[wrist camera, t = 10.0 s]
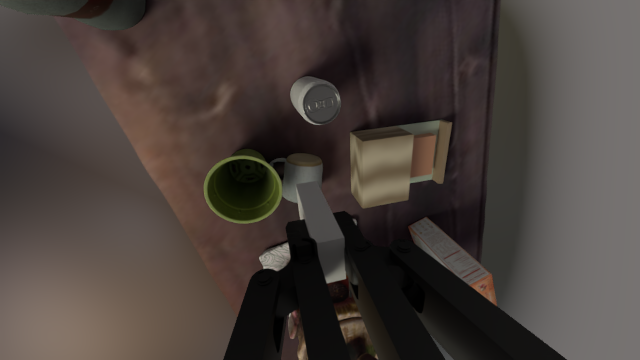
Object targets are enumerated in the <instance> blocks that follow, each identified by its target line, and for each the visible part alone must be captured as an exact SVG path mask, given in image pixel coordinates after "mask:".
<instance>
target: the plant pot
mask: <svg viewBox="0 0 640 360" xmlns="http://www.w3.org/2000/svg"><path fill="white" fill-rule="evenodd" d="M232 160H233V161H232ZM234 161H235V162H234ZM260 163H262V164H263V168H261V164H260ZM232 165H234V166H235V170H236V172H234V171H233V169H232ZM247 165H248V166H250V168H249V169H247V168H246V166H247ZM266 171H267V172H266ZM252 177H255V179H253V180H247V178H252ZM204 196H205V199H206V201H207V204H208V205H209V207H210V208H211V209H212V210H213V211H214V212H215V213H216V214H217V215H218V216H220V217H222V218H223V219H226V220H228V221H231V222H235V223H252V222H257V221H260V220H262V219H264V218H266V217H268V216H269V215H270V214H271V213H272V212H273V211H274V210H275V209H276V208H277V206H278V205H279V203H280V201H281V198H282V182H281V179H280V177H279V175H278V174H277V172H276V171H275V169H274V168H273V167H272V166H270V165H269V164H268V163H267V162H266V160H265V159H264V157H263V156H262V155H261V154H260V153H259V152H257V151H255V150H252V149H242V150H239V151H237V152H235V153H234V154H233V155H232V156H231V157H229V158H226V159H224V160H222V161H220V162H219V163H217V164H216V165H215V166H214V167H213V168H212V169H211V170H210V171H209V173H208V174H207V176H206V179H205V182H204Z"/></svg>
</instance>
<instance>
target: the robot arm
mask: <svg viewBox="0 0 640 360" xmlns="http://www.w3.org/2000/svg"><path fill="white" fill-rule="evenodd" d="M296 192H297V199H298V207H299V215H300V219H301V220H297V221H292V222H288V224H287V226H286V233H287V239H288V245H289V251H290V261H289V263H288V264H287V265H286V266H285V267H284V268H282V269H280V270H278V271H275V270H274V269H269V268H267V269H262V270H260V271H258V272H256V273H255V274H254V275H253V276H252V277H251V279H250V281H249V284H248V287H247V290H246V293H245V296H244V299H243V302H242V305H241V308H240V311H239V314H238V317H237V320H236V323H235V327H234V329H233V332H232V335H231V338H230V341H229V344H228V347H227V350H226V353H225V356H224V359H223V360H281V354H282V347H283V340H284V333H285V327H286V320H287V315H289V314H290V313H292V312H294V311H295V310H297V309H299V310H300V316H301V322H302V328H303V334H304V340H305V345H306V351H307V357H308V360H351V358H350V355H349V352H348V349H347V345H346V342H345V339H344V336H343V333H342V330H341V327H340V323H339V320H338V317H337V314H336V311H335V308H334V304H333V301H332V298H331V295H330V292H329V289H328V285H327V283H331V282H335V281H339V280H344V279H346V273H347V276H348V278H349V296H350V297H352V295H353V297H354V300H355V302H356V305H357V307H358V310H359V312H360V315H361V317H362V320H363V322H364V325H365V327H366V330H367V332H368V334H369V337H370V339H371V342H372V344H373V347H374V349H375V352H376V354H377V357H378V359H379V360H445V358H444V357H443V355H442V353H441V352H440V351H439V349H438V347H437V345H436V344H435V342H434V341H433V339H432V337H431V336H430V334H431V335H432V336H433V338H435V340H436V341H437V342H438V343H439V344H440V345H441V346H442V347H443V348H444V349H445V350H446V352H447V353H448V354H449V355H450V356H451V357H452V358H453V359H454V360H567V359H565V358H564V357H563V356H561V355H560V354H559V353H558V352H556V351H555V350H554V349H552V348H551V347H549V346H548V345H547V344H546V343H544V342H543V341H542V340H540V339H539V338H538V337H536V336H535V335H534V334H533V333H531V332H530V331H529V330H527V329H526V328H525V327H523V326H522V325H521V324H519V323H518V322H517V321H516V320H514V319H513V318H512V317H510V316H509V315H508V314H506V313H505V312H504V311H502V310H501V309H500V308H498V307H497V306H496V305H495V304H493V303H492V302H491V301H489V300H488V299H487V298H485V297H484V296H483V295H481V294H480V293H479V292H477V291H476V290H475V289H474V288H472V287H471V286H470V285H468V284H467V283H466V282H464V281H463V280H462V279H460V278H459V277H458V276H456V275H455V274H454V273H453V272H451V271H450V270H449V269H447V268H446V267H445V266H443V265H442V264H441V263H439V262H438V261H437V260H435V259H434V258H433V257H432V256H430V255H429V254H428V253H426V252H425V251H424V250H422V249H421V248H420V247H418V246H417V245H416V244H414V243H413V242H411V241H409V240H405V239H398V240H394V241H393V242H391V244H390V247H378V246H374V245H373V244H372V243H371V242H370V241H369V240H367V239H364V237H363V235H362V234H361V232H360V230H359V229H358V227H357V225H356V224H355V222H354V221H353V219H352V217H351V215H350V214H348V213H347V212H345V211H342V212H336V213H332V211H331V209H330V207H329V205H328V203H327V201H326V199H325V197H324V195H323V193H322V191H321V189H320V187H319V185H318V183H317V181H313V182H307V183H301V184H296ZM428 332H429V333H430V334H429V333H428Z"/></svg>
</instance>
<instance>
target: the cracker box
mask: <svg viewBox="0 0 640 360" xmlns="http://www.w3.org/2000/svg"><path fill="white" fill-rule="evenodd" d="M408 228H409V231H410V234H411V236H412V239H413V242H414V244H416V245H417V246H418V247H420V248H421V249H422V250H424V251H425V252H426V253H428V254H429V255H430V256H432V257H433V258H434V259H435V260H437V261H438V262H439V263H441V264H442V265H443V266H445V267H446V268H447V269H449V270H450V271H451V272H453V273H454V274H455V275H456V276H458V277H459V278H460V279H462V280H463V281H464V282H466V283H467V284H468V285H470V286H471V287H472V288H474V289H475V290H476V291H477V292H479V293H480V294H481V295H483V296H484V297H485V298H487V299H488V300H489V301H491V302H492V303H493V304H495V305H496V306H497V303H496V297H495V292H494V285H493V279H492V274H491V273H490V272H489V271H488V270H486V269H485V268H484V267H483V266H482V265H481V264H480V263H479V262H477V261H476V260H475V259H474V258H473V257H472V256H471V255H469V254H468V253H467V252H466V251H465V250H464V249H463V248H461V247H460V246H459V245H458V244H457V243H456V242H455V241H454V240H452V239H451V238H450V237H449V236H448V235H447V234H446V233H444V232H443V231H442V230H441V229H440V228H439V227H438V226H437V225H435V224H434V223H433V222H432V221H431V220H430V219H429V218H428V217H424V218H423V219H421V220H419V221H417V222H415V223H413V224H411V225H409V226H408Z"/></svg>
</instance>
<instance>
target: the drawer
mask: <svg viewBox="0 0 640 360" xmlns="http://www.w3.org/2000/svg"><path fill="white" fill-rule="evenodd" d="M397 127H399V128H401V129H403V130H406V131H408V132H410V133H412V134H414V135H420V134H426V133H432V134H435V135H436V142H435V150H434V159H433V167H432V174H429V175H424V176H418V177H413V178H410V183H414V182H419V181H425V180H431V179H432V180H434V181H435V182H437V183H438V184H441V183H443V179H444V172H445V166H446V159H447V153H448V146H449V140H450V133H451V127H452V122H449V121H446V120H436V121H428V122H421V123H414V124H406V125H399V126H397Z"/></svg>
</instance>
